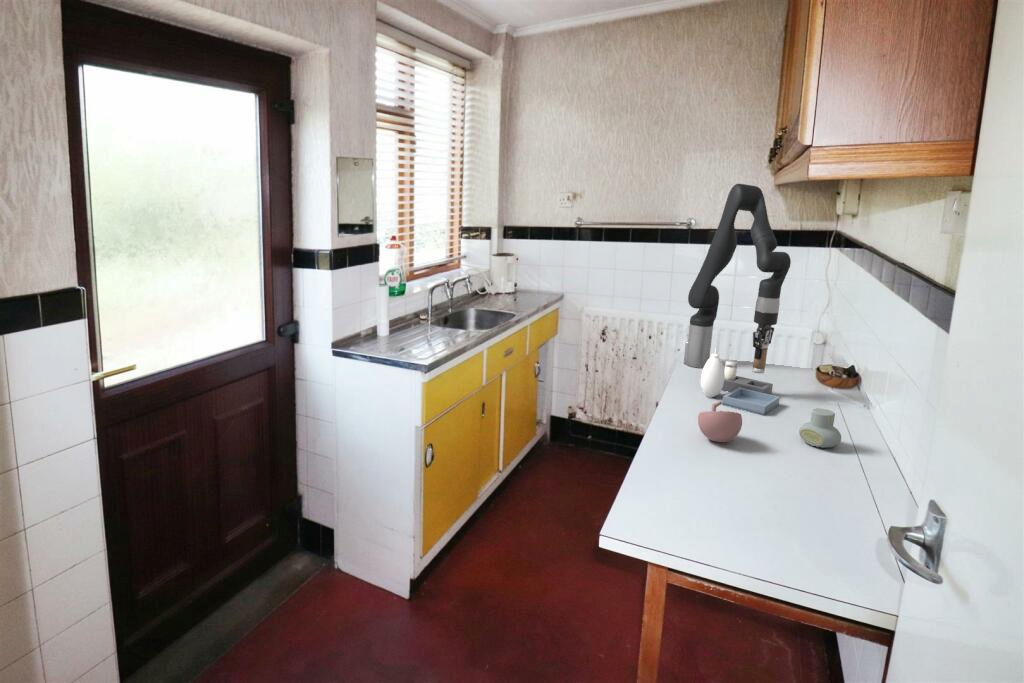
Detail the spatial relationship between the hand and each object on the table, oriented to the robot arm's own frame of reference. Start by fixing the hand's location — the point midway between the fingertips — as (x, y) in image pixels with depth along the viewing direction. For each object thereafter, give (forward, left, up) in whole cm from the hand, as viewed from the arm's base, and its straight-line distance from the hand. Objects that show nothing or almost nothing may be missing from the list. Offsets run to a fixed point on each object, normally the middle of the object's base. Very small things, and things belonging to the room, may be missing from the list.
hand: (760, 357), depth 218 cm
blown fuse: (0, 0, -5) cm, 5 cm away
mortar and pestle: (+8, -50, -14) cm, 53 cm away
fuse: (-10, 0, -14) cm, 17 cm away
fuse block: (-5, 0, -14) cm, 15 cm away
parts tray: (+3, -12, -14) cm, 19 cm away
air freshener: (+30, -31, -14) cm, 46 cm away
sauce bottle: (-10, -14, -14) cm, 22 cm away
